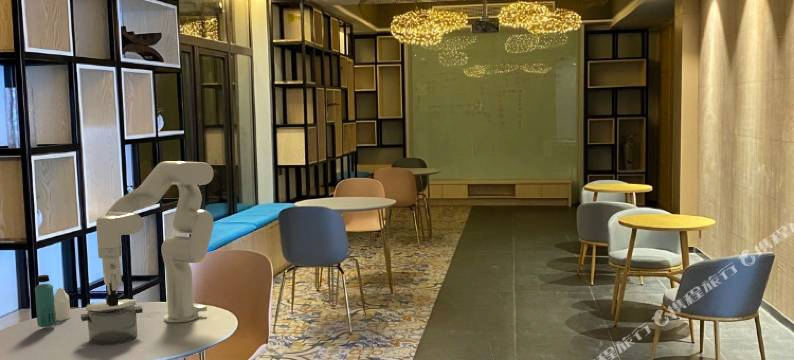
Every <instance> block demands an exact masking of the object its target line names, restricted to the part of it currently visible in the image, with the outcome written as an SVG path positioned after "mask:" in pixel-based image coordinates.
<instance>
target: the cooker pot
mask: <svg viewBox="0 0 794 360" xmlns="http://www.w3.org/2000/svg"><path fill="white" fill-rule="evenodd" d="M122 300H130V299H129V298H124V299H122ZM91 304H95V303H93V302H92V303H87V306H88V305H91ZM142 313H144V312H143V307H142V306H141V305H139V306H136V305H133V306H130V307H125V308H120V309H113V310H105V311H87V312H86V313H83V314H80V320H81V322H87V329H88V340H89V341H88V342H89V343H90V344H91V343H92V345H95V344H96V345H95V346H114V345H120V344H123V343H127V342H131V341H132V340H135V339H136V338H137V337H138V335H139V333H138V323H137V322H138V320H137V314H142Z"/></svg>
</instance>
